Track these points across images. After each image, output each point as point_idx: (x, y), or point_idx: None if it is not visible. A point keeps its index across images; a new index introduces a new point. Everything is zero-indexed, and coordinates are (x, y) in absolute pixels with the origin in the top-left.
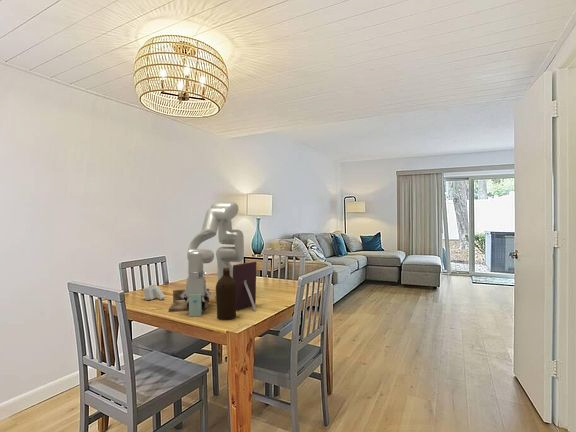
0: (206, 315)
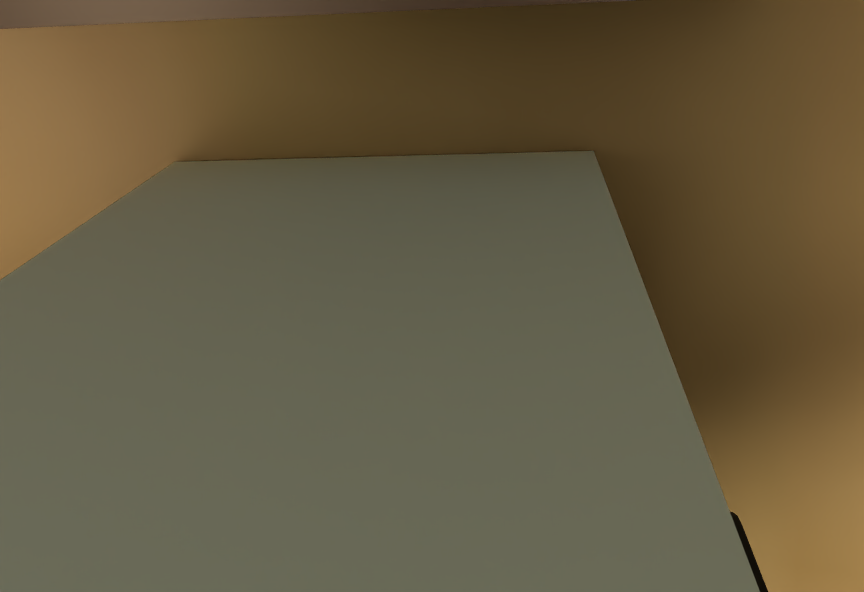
0: None
